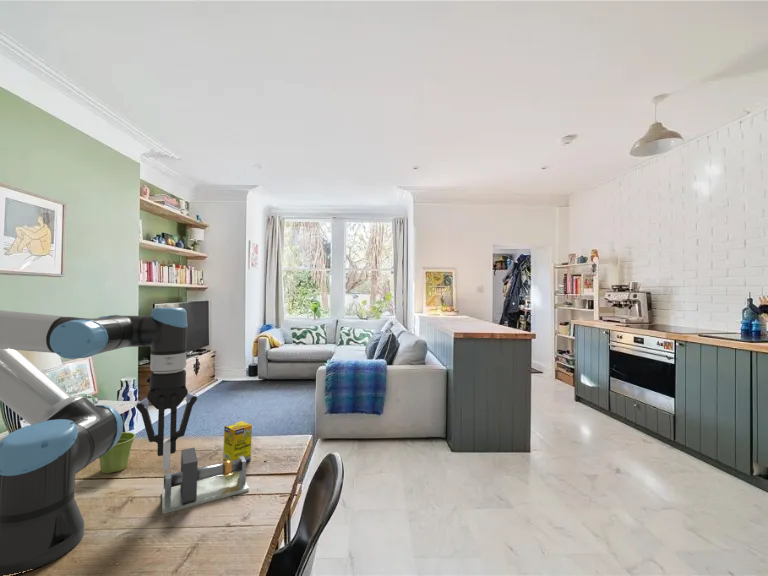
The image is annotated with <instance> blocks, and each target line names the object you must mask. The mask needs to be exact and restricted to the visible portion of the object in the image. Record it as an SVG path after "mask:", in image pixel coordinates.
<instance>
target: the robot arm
mask: <svg viewBox="0 0 768 576" xmlns="http://www.w3.org/2000/svg"><path fill="white" fill-rule="evenodd" d="M187 314H188V312H187V311H186V309H185V308H183V307H154V308H152V309H151V314H150V315H119V314H113V315H111V314H110V315H102V316H98V318H96V317H95V318H87V317H86V318H85V317H78V316H77V317H75V316H63V315H53V314H44V313H34V312H33V313H32V312H23V311H12V310H0V402H2V403H3V404H4V405H6V406H7V407H8V408H9V409H10V410H12V411H13V412H14V413H15V414H16V415H18V416H19V417H20V418H21V419H23V420H24V421H25V422H26V423H27V424H29V425H26V426H24V427H23V426H22V427H21V428H19V429H16V430H14V431H11V433H8V434H7V435H5V436H4V437H3V438H2V439H1V440H0V576H3V575H9V574H14V573H19V572H23V571H27V570H30V569H34V568H37V567H39V568H41V567H43V565H44V566H46V565H48V564H50V563H52V562H54V561H55V560H57V559H59V558H61V557H63V556H64V555H66V554H67V553H68V552H70V551H71V550H72V549H74V548H75V547H76V546H77V545H78V544H79V543H80V541H81V540H82V539H83V537H84V534H85V520H84V517H83V515H82V513H81V510H80V508H79V505H78V503H77V500H76V499H75V492H76V491H75V490H76V489H75V488H76V474H78V473H79V472H81V471H83V469H85V468H87V467H88V466H90V465H91V464H92V463H94V462H95V461H96V460H98V459H99V458H100V457H102V456H103V455H105V454H106V453H107V452H108V451H109V450H110V449H111V448H112V447H113V446H114V445H115V444H116V443H117V442H118V441H119V439H120V437H121V435H122V433H123V430H124V428H123V427H124V422H123V419H122V416H121V414H120V412H119V411H118V410H117V409H116V408H114V407H112V406H109V405H107V404H102V405H101V404H96V405H95V404H94V403H92V401H90V400H89V399H88V398H87V397H86V396H72V395H71V394H70V393H69V392H67V391H66V390H65V389H63V387H61V385H59V384H58V383H57V382H55V381H54V380H53V379H52V378H51V377H49V376H48V375H47V374H46V373H45V372H43V371H42V370H41V369H40V368H39V367H38V366H37V365H35V364H34V363H33V362H32V361H31V360H30V359H28V358H27V357H26V356H25V355H24V354H22V353H21V352H20V351H24V352H25V351H27V352H36V353H38V352H39V353H48V354H57V355H58V356H59V357H61V358H63V359H67V360H68V359H69V360H75V359H76V360H77V359H85V358H90V357H92V356H95V355H99V354H102V353H106V352H110V351H114V350H115V351H116V350H119V349H122V348H123V349H124V348H130V347H131V348H132V347H135V348H137V347H143V348H144V347H150V371H152V372H151V373H150V374H149V391H148V393H147V395H146V397H145V398H144V399H142V400H139V401H137V402H136V405H135V408H136V409H137V411H139V413H140V414H141V417H142V421H143V425H144V428H145V432H146V436H147V439H148V442H150V443H156V444H157V452H156V454H157V457H161V456H162V471H167V470H170V469H171V454H175V453H176V451H177V440H178V439H180V438H181V437H184V436H185V434H186V430H187V427H188V423H189V421H190V420H189V419H190V416H191V413H192V409H193V406H194V405H195V403H196V402H197V401H198V396H197V395H196V394H195V393H193V394H192V393H191V392H189V390H188V388H187V384H186V382H187V381H186V380H187V370H186V367H187V341H188V339H187V337H188V325H189V324H188V317H187V316H188V315H187ZM184 399H185V403H186V405H185V407H184V411H183V414H182V419H181V422H180V425H179V429H178V430H177V417H178V416H177V415H178V414H177V413H178V412H177V411H178V407H179V406H180V405H181V403H182V402H183V401H184ZM149 403H150V404H151V405H153V406H154V408H155V409H156V410H158V417H157V418H158V419H157V420H158V421H157V422H158V423H157V434H156V433H155V431H154V427H153V423H152V420H151V416H150V413H149V409H148V408H149V405H150V404H149ZM168 409H169V410H170V425H169V426H170V428H169V430H170V432H169V433H170V437H169V438H165V436H164V435H165V433H164V432H165V411H166V410H168ZM45 564H46V565H45ZM40 566H41V567H40ZM37 569H38V568H37ZM34 570H35V569H34Z"/></svg>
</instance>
